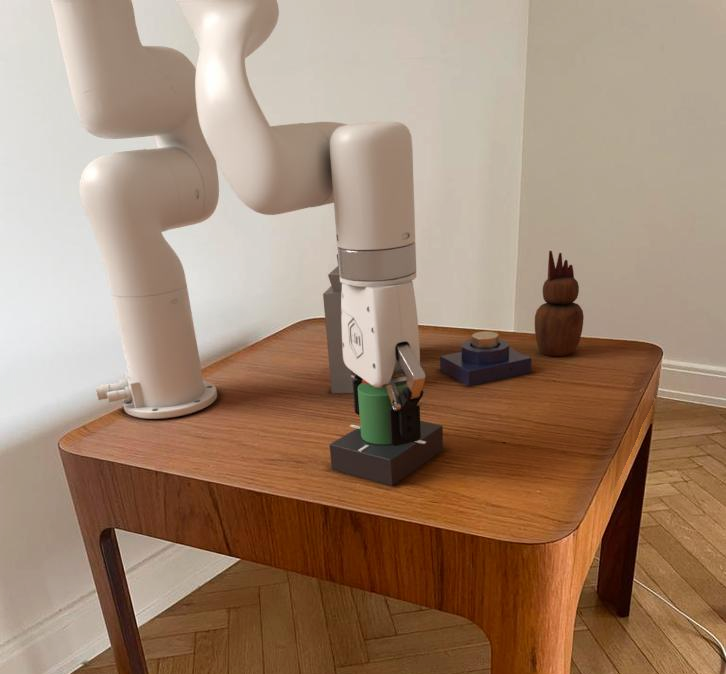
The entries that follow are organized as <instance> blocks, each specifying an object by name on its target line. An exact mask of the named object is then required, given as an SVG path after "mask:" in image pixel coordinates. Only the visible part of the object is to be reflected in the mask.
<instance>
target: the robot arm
mask: <svg viewBox="0 0 726 674" xmlns="http://www.w3.org/2000/svg"><path fill="white" fill-rule="evenodd" d="M49 1H50V3H51V8H52V11H53V16H54V22H55V26H56V30H57V36H58V41H59V46H60V49H61V54H62V59H63V63H64V68H65V72H66V77H67V80H68V86H69V89H70V90H69V91H70V94H71V98H72V102H73V106H74V108H75V112H76V114H77V117H78V120H79V122H80V123H81V124H82V127H83V128H84V129H85V130H86V131H87V132H88V133H89V134H90V135H92V136H94V137H97V138H101V139H108V140H120V139H121V140H123V139H124V140H125V139H136V138H145V137H154V138H155V142H156V146H157V148H143V149H135V150H126V151H117V152H113V153H111V152H110V153H107V154H104V155H102V156H99V157H96V158H95V159H93V160H92V161H90V162H89V163H88V164H87V165H86V166H85V168H84V169H83V171H82V173H81V175H80V179H79V185H78V186H79V187H78V189H79V197H80V200H81V201H80V202H81V205H82V208H83V210H84V213H85V216H86V218H87V220H88V222H89V225H90V227H91V230H92V232H93V235H94V237H95V240H96V243H97V245H98V249H99V252H100V255H101V259H102V262H103V266H104V270H105V273H106V278H107V283H108V287H109V292H110V294H111V295H110V296H111V299H112V304H113V305H112V306H113V309H114V314H115V317H116V322H117V327H118V331H119V336H120V340H121V341H120V342H121V346H122V350H123V355H124V360H125V364H126V368H127V371H125V372H124V377H125V378H121V379H120V378H119V379H118V382H115V383H105V384H99V385H95V386H94V389H95V393H96V397H97V401H102V400H108V403H114V402H118V401H121V400H122V406H123V410H124V412H125V413H126V414H127V415H130V417H131V416H132V417H134V418H139V419H148V420H152V419H153V420H159V419H171V418H177V417H180V416H181V417H182V416H186V415H190V414H193V413H196V412H198V411H201V410H204V409H205V408H207V407H209V406H211V405H212V404H213V403H214V402H216V400H217V398H218V392H217V391H218V390H217V387H216V385H214V384H213V383H211V382H209V381H206V380H204V377H203V371H202V364H201V358H200V353H199V348H198V347H199V346H198V343H197V342H198V341H197V336H196V331H195V324H194V318H193V312H192V308H191V307H192V306H191V301H190V297H189V296H190V295H189V290H188V284H187V279H186V273H185V270H184V269H185V268H184V265H183V264H182V261H181V259H180V257H179V256H178V254H177V253H176V251H175V250H174V249H173V248H172V246H171V245H170V243H169V242H168V241H167V239H166V238H165V236H164V235H163V233H164V232H167V231H170V230H175V229H180V228H184V227H188V226H193V225H196V224H200V223H203V222H205V221H206V220H208V219H210V218H211V217H212V215H213V214H214V213H215V212H216V210H217V207H218V203H219V199H220V181H219V173H218V168H219V170H220V172H221V173H222V175H223V177H224V180H226V182H227V183H228V185H229V187H230V188H231V190H232V191H233V193H234V194H235V196H236V197H237V198H238V199H239V200H240V201H241V202H242V203H243V205H245V206H246V207H248V208H249V209H250V210H252V211H253V212H256V213H258V214H261V215H265V216H276V215H282V214H287V213H291V212H296V211H300V210H303V209H308V208H309V209H310V208H316V207H321V206H325V205H330V204H333V208H334V211H333V212H334V221H335V222H334V223H335V235H336V246H337V254H338V260H337V263H338V262H339V274H340V282H341V283H342V294H341V321H342V348H343V360H344V363H345V365H346V366H347V367H348V368H349V369H350V370H351V376H352V378H353V379H357V380H352V383H353V393H352V395H353V407H354V413H355V414H356V415H358V416H360V415H359V401H358V386H359V385H360V384H361V383H362V380H365V381H366V382H368V383H369V384H371V385H372V386H374V387H376V388H380V387H382V386H383V385H384V384H385V386H386V389H387V392H388V395H389V398H390V401H391V404H392V408H389V427H390V442H391V444H392V445H394V446H398V445H402V444H406V443H411V442H415V441H418V440H420V438H421V429H420V421H421V406H422V404H423V403H422V402H423V401H422V399H423V397H424V394H425V393H424V392H425V391H424V386H425V383H426V377H427V376H426V373H425V370H424V369H423V368H422V366H421V347H420V345H421V344H420V333H419V330H420V329H419V320H418V309H417V302H416V295H415V288H414V281H413V280H415V279H416V278H417V276H418V275H417V249H416V248H417V247H416V245H417V244H416V219H415V218H416V215H415V213H416V212H415V188H414V186H415V185H414V184H415V183H414V155H413V153H414V151H413V138H412V137H413V136H412V134H411V131H410V129H409V128H408V126H407V125H406V124H404V123H403V122H400V121H394V120H393V121H389V120H388V121H367V122H358V123H349V124H348V123H342V122H335V121H316V122H315V121H314V122H307V123H305V122H300V123H299V122H298V123H289V124H281V125H280V124H279V125H271V124H270V123H269V122H268V119H267V118H266V116H265V114H264V112H263V110H262V109H261V106H260V105H259V102H258V101H257V99H256V97H255V94H254V92H253V89H252V86H251V85H250V82H249V81H250V80H249V78H248V73H247V69H246V68H247V67H246V58H248V57H250V56H251V55H252V54H253V53H254V52H255V51H257V50H258V49H259V48H260V47H261V46H263V44H264V43H266V41H267V40H268V39H269V38H270V36H271V35H272V33H273V32H274V30H275V28H276V27H277V24H278V21H279V15H280V9H279V3H278V0H175V2H176V3H177V6H178V7H179V9H180V11H181V13H182V15H183V17H184V19H185V21H186V23H187V25H188V27H189V29H190V31H191V33H192V34H193V36H194V38H195V40H196V43H197V45H198V48H199V53H198V58H197V63H196V66H195V65H194V63H193V62H192V61H191V60H190V59H189V58H188V57H187V56H186V55H185V54H184V53H182V52H181V51H179V50H177V49H175V48H172V47H168V46H164V45H163V46H161V45H143V44H142V42H141V39H140V35H139V32H138V27H137V21H136V16H135V10H134V3H133V1H132V0H49ZM395 375H396V376H395ZM397 375H400V376H397ZM391 377H393V378H391ZM405 384H407V387H406V388H403V390H402V392H401V393H400V395H398V392H397V389H396V386H400V385H405Z"/></svg>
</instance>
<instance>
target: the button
mask: <svg viewBox="0 0 726 674" xmlns="http://www.w3.org/2000/svg"><path fill="white" fill-rule="evenodd" d="M471 339H472V347H473V348H477V349H492V348H496V347H498V339H499V333H497V332H495V331H478V332H477V331H476V332H474V333H472V335H471Z"/></svg>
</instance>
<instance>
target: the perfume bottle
mask: <svg viewBox="0 0 726 674" xmlns="http://www.w3.org/2000/svg"><path fill="white" fill-rule="evenodd" d="M336 259H337V260H336V261H337V266H336V267H335V268H333V269H332V271H330V272H329V273H328V274H327V277H328V279H329V283H330V285H331V286H329V288H327V289H326V290H325V291H324V292H323V293H322V297H323V299H322V300H323V308H324V309H323V310H324V320H325V321H324V322H325V332H326V333H325V334H326V343H327V344H326V345H327V356H328V366H329V379H330V388H331V389H330V390H331V394H353V383H352V380H357V379H353V378H352V376H351V370H350V369H349V368H348V367H347V366H346V365H345V363H344V360H343V348H342V321H341V294H342V283H341V282H340V274H339V262H338V253H337V254H336Z"/></svg>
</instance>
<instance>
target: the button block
mask: <svg viewBox="0 0 726 674" xmlns="http://www.w3.org/2000/svg"><path fill="white" fill-rule="evenodd" d="M439 364H440V365H439V368H440V369H439V370H440V372H442V373H444V374H446V375H447V376H449V377H451V378H453V379H454V380H456V381H458V382H460V383H462V384H463V385H465V386H467V387H473V386H477V385H482V384H487V383H491V382H496V381H499V380H505V379H510V378H515V377H518V376H519V377H520V376H523V375H528V374H531V373H532V357H531V356H528V355H526V354H524V353H521V352H520V351H517V350H515V349H513V348H510V343H509V341H507V340H505V339H502V338H498V347H496V348H492V349H477V348H473V347H472V338H471V339H467V340H465V341H463V342H462V343H461V351H459V352H454V353H449V354H444V355H440V356H439Z"/></svg>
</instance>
